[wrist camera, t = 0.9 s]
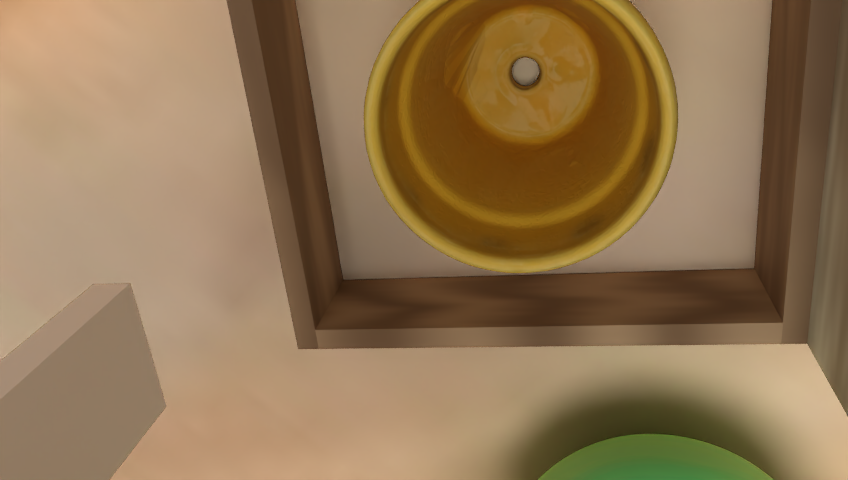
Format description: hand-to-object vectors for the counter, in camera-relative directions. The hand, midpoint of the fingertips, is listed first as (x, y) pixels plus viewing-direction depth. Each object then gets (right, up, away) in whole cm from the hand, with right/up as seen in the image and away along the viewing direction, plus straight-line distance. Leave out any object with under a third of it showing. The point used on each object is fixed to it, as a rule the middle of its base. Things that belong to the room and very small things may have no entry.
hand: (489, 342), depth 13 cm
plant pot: (+3, +9, +21) cm, 23 cm away
